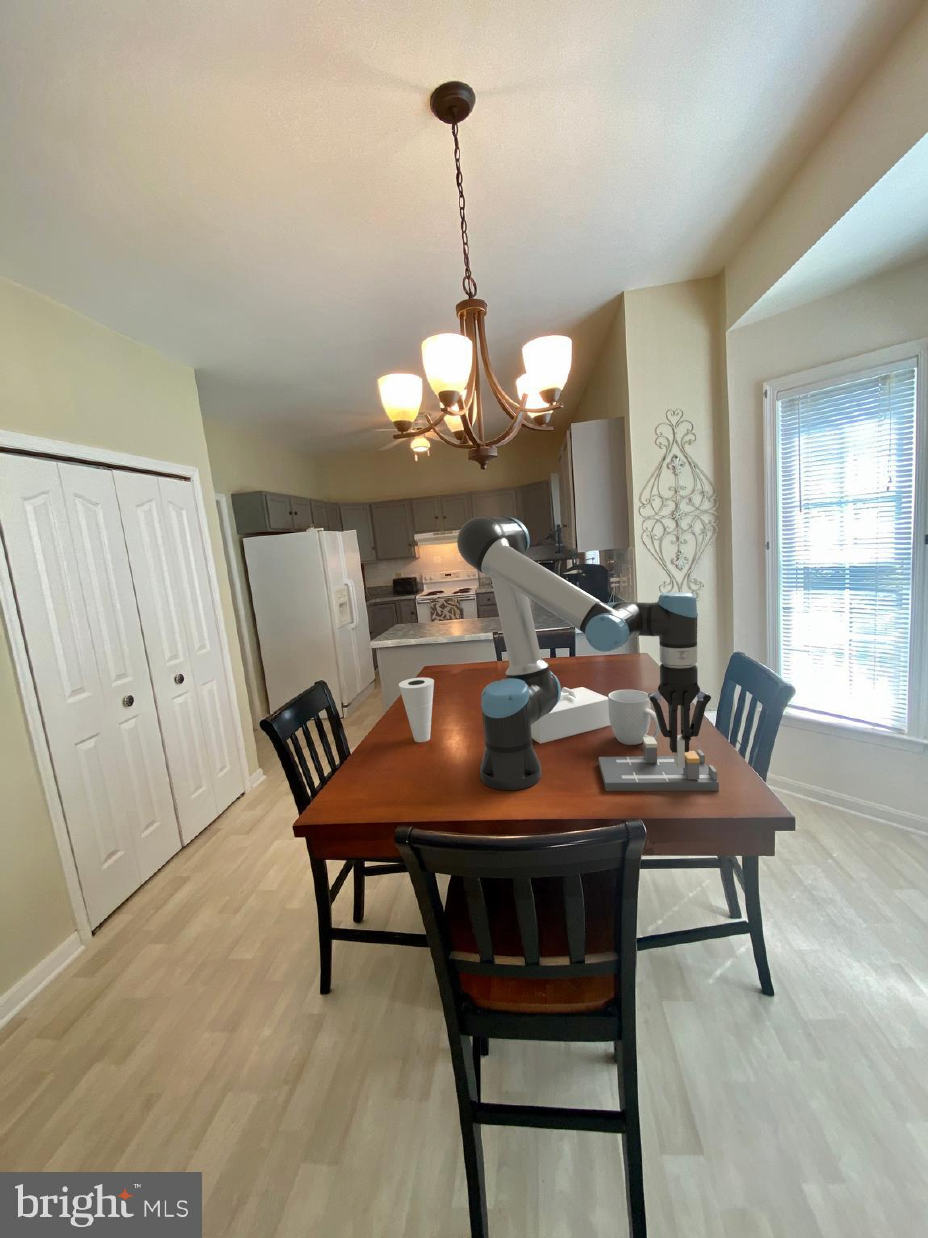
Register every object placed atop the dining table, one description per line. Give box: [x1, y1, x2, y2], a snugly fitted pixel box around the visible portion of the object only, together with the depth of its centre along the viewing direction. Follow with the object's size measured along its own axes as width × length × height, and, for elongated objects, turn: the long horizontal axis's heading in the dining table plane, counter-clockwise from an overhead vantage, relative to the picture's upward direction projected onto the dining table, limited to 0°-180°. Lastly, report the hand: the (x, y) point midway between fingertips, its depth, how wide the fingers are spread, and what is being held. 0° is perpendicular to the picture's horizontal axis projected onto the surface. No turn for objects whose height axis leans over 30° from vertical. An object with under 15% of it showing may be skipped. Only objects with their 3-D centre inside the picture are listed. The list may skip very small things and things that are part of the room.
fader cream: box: [642, 737, 659, 763], centre depth 117 cm, size 3×4×5 cm
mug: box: [607, 689, 661, 746], centre depth 131 cm, size 15×11×13 cm
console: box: [598, 749, 720, 792], centre depth 113 cm, size 24×13×4 cm, turn 81°
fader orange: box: [683, 750, 700, 779], centre depth 108 cm, size 3×4×5 cm
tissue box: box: [531, 686, 611, 744], centre depth 147 cm, size 14×25×11 cm, turn 111°
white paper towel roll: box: [398, 677, 435, 743], centre depth 146 cm, size 11×11×18 cm
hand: (679, 765), depth 108 cm, fingers closed
